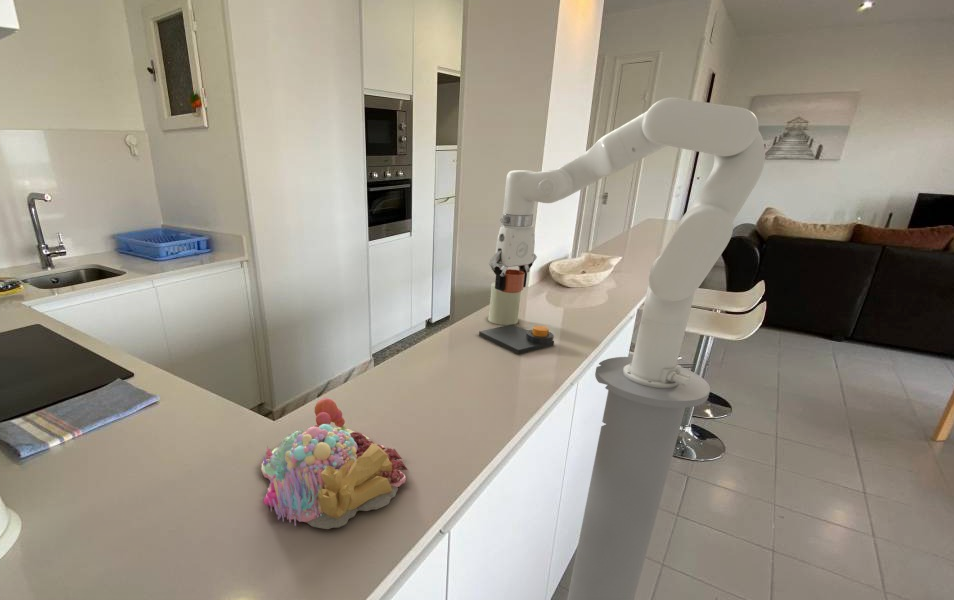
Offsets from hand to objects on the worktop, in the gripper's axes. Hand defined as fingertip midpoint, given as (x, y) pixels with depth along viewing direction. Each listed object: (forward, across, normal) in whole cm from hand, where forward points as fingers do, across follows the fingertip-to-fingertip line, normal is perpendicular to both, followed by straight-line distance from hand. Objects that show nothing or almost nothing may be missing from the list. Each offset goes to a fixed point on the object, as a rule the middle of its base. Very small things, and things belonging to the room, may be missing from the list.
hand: (510, 287), depth 130 cm
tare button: (+13, +6, -7) cm, 16 cm away
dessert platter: (+15, -68, -33) cm, 77 cm away
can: (+15, +11, +13) cm, 23 cm away
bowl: (+1, 0, 0) cm, 1 cm away
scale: (+15, +2, -2) cm, 15 cm away
